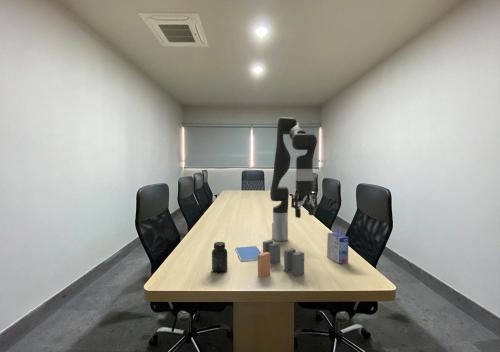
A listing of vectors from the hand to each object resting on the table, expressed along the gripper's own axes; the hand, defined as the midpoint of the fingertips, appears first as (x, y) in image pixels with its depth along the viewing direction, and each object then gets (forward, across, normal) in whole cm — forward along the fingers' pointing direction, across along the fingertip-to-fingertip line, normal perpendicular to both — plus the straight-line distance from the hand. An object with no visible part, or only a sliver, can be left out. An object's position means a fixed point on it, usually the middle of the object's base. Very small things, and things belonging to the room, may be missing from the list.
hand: (304, 216), depth 104 cm
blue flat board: (+24, +8, -30) cm, 40 cm away
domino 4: (+23, +6, -3) cm, 24 cm away
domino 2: (+24, +18, -7) cm, 30 cm away
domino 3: (+23, +6, -13) cm, 27 cm away
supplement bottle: (+24, +30, -22) cm, 44 cm away
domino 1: (+23, +6, -18) cm, 30 cm away
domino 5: (+24, +6, +2) cm, 24 cm away
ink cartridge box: (+24, -21, +2) cm, 32 cm away
